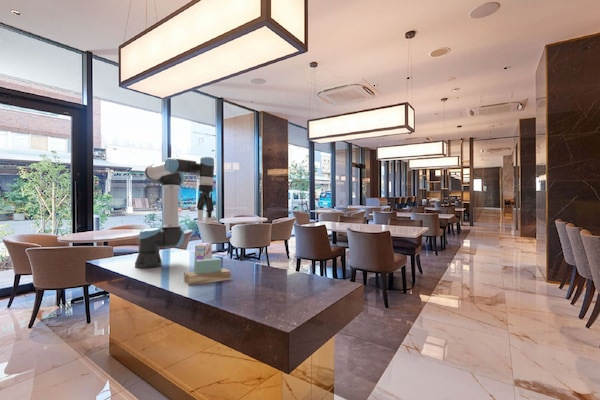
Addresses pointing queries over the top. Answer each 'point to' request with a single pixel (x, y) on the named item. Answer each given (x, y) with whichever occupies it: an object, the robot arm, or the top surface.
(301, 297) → the top surface
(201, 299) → the top surface
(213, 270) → the green arch block
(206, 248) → the candy box
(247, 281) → the top surface
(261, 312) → the top surface
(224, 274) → the wooden block with holes
